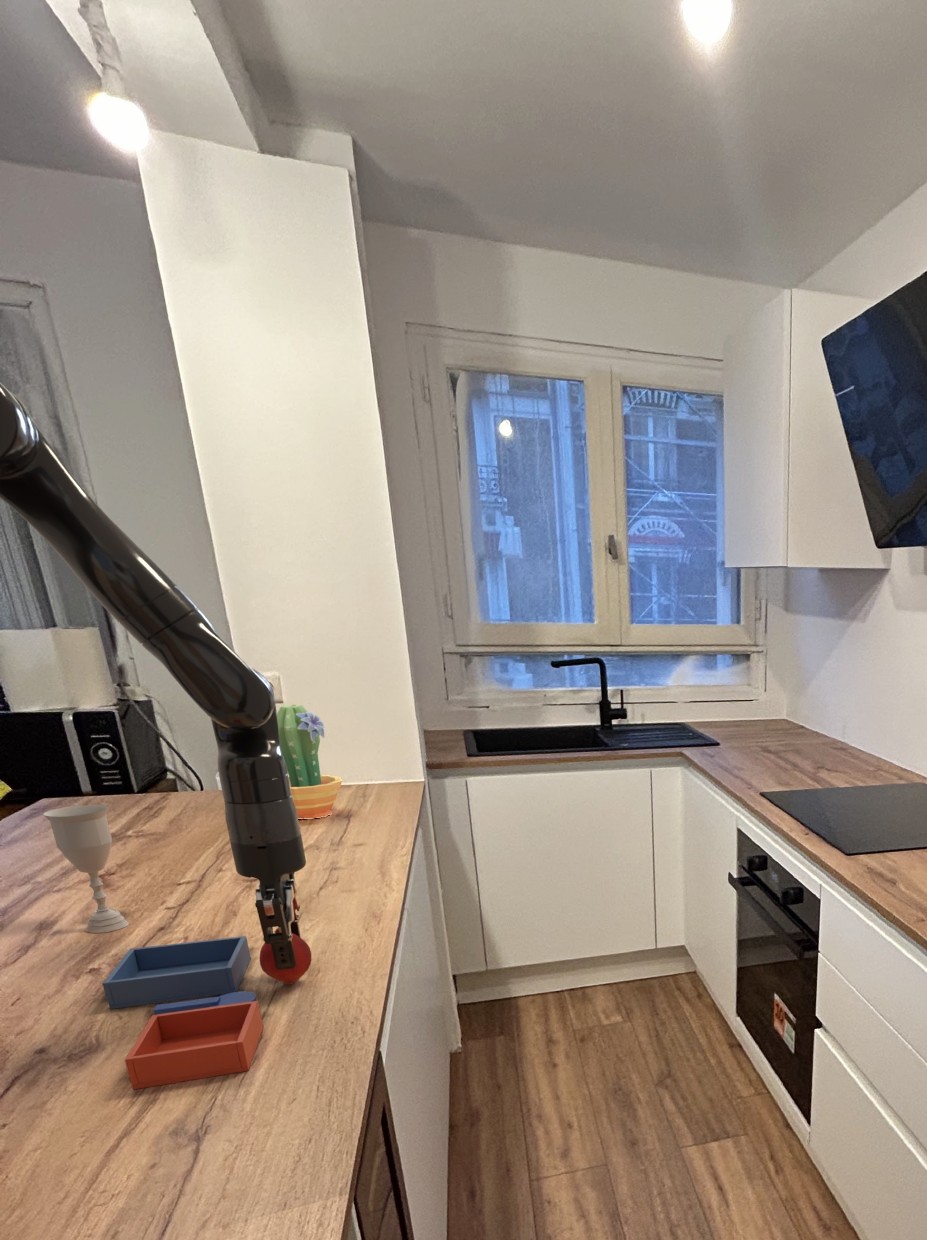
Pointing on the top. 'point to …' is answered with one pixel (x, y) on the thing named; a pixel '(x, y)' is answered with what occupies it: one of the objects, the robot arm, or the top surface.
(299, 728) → the potted cactus
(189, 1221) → the top surface
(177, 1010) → the blue paddle
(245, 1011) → the terracotta bin
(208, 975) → the blue bin
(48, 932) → the top surface
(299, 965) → the onion
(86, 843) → the chalice
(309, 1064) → the top surface
